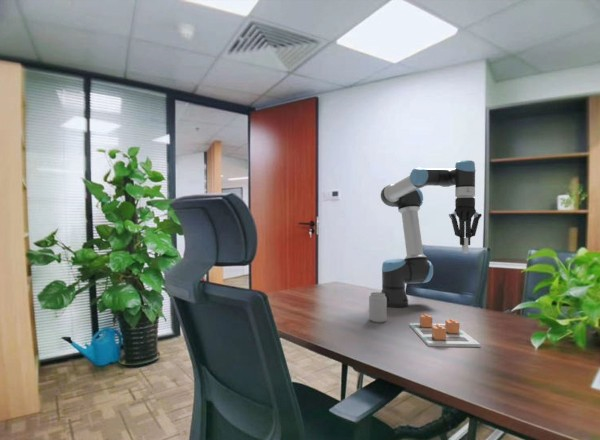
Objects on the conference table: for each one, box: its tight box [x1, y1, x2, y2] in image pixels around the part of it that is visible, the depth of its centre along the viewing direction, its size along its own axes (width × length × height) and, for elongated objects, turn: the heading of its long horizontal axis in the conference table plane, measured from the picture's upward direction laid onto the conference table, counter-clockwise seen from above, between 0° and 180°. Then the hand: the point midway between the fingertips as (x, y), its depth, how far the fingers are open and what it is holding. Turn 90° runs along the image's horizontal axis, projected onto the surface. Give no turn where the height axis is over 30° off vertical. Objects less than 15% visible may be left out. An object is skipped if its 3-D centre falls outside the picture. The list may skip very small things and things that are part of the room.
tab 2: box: [432, 323, 446, 340], centre depth 122 cm, size 3×4×5 cm
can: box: [368, 291, 388, 324], centre depth 148 cm, size 8×8×12 cm
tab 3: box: [444, 318, 460, 334], centre depth 129 cm, size 3×4×5 cm
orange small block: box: [419, 313, 433, 327], centre depth 136 cm, size 3×4×5 cm
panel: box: [409, 322, 481, 348], centre depth 129 cm, size 23×18×1 cm
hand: (465, 252), depth 142 cm, fingers closed
